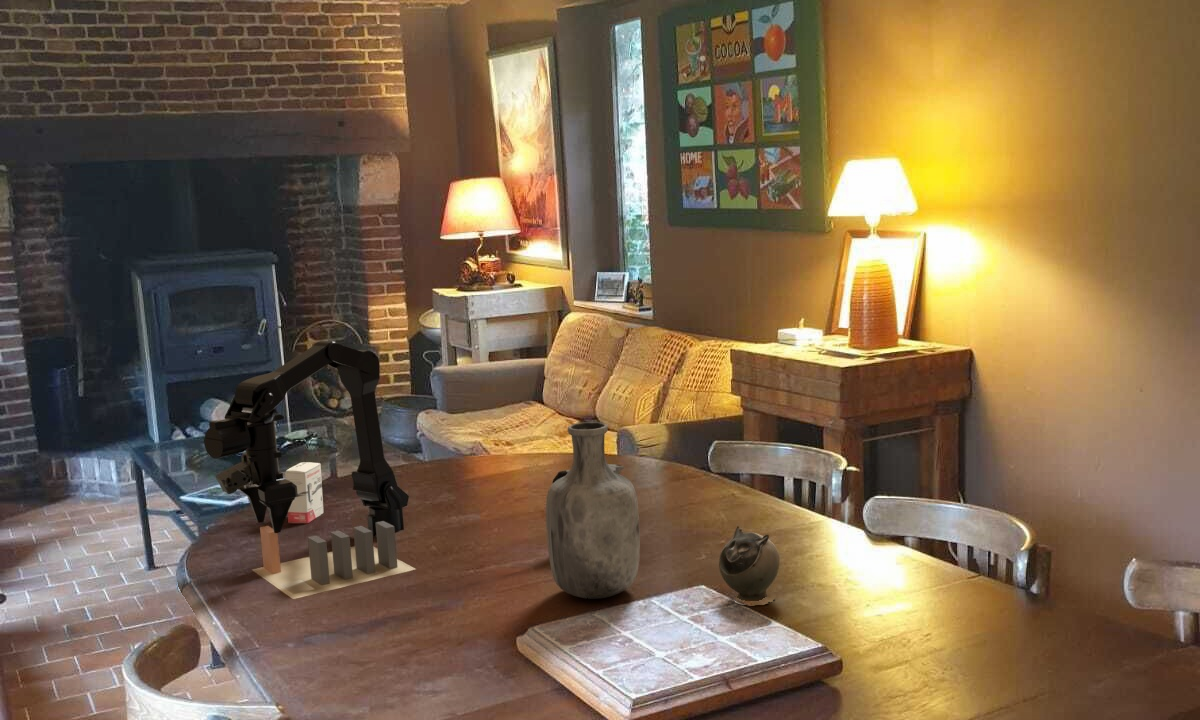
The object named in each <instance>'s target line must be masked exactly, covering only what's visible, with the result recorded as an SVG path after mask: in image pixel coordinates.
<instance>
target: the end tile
mask: <svg viewBox="0 0 1200 720" xmlns="http://www.w3.org/2000/svg"><path fill="white" fill-rule="evenodd" d="M259 530H260V531H259V533H260V543H261V552H262V554H261V555H262V563H263V567H264V568H265V569H266V570H268V571H269V572H271V573H272V574H275V573H279V572H281V566H280V563H281V558H280V549H279V547H280V546H279V536H278V534H279V533H274V530H273V527H271V526H269V525H266V526H265V525H264V526H260V527H259Z"/></svg>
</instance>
